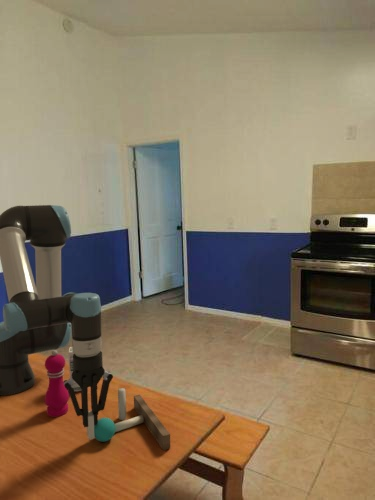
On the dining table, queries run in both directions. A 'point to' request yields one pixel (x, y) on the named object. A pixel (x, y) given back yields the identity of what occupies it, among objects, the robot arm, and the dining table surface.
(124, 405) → the grey pin
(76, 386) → the syrup box
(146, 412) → the back wall
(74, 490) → the dining table surface
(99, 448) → the dining table surface
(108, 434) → the ball
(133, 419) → the ivory pin
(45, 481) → the dining table surface
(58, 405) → the pepper mill
